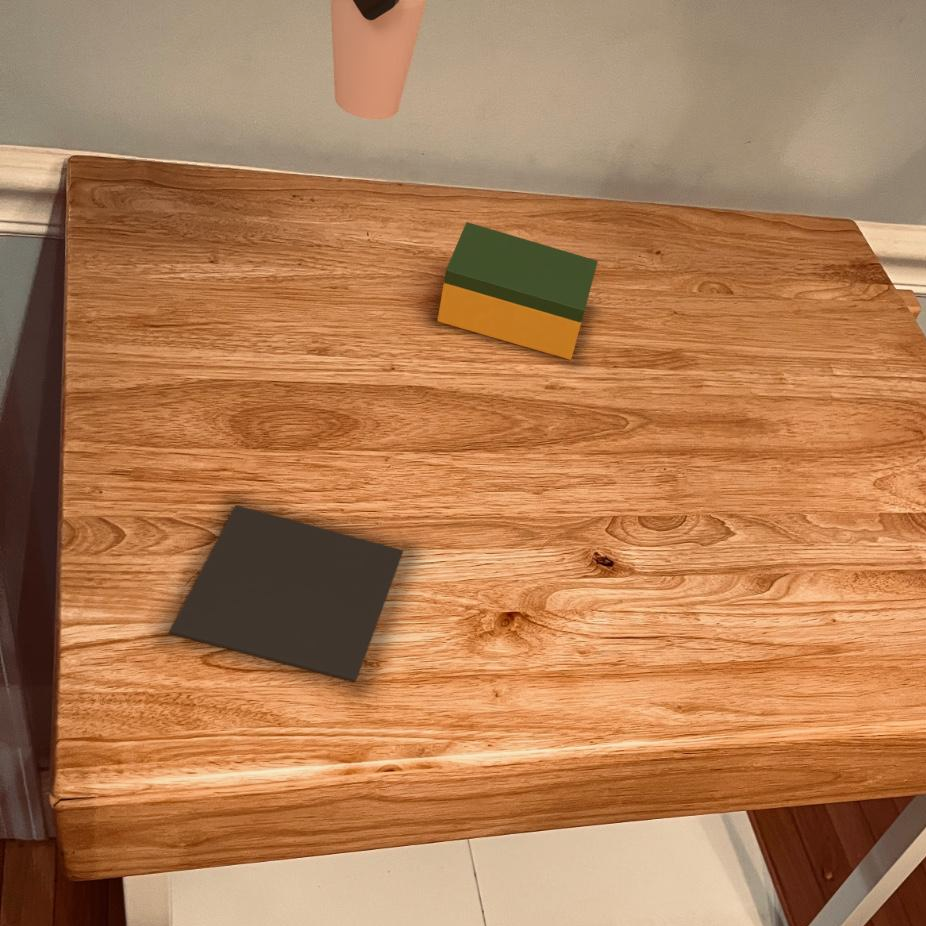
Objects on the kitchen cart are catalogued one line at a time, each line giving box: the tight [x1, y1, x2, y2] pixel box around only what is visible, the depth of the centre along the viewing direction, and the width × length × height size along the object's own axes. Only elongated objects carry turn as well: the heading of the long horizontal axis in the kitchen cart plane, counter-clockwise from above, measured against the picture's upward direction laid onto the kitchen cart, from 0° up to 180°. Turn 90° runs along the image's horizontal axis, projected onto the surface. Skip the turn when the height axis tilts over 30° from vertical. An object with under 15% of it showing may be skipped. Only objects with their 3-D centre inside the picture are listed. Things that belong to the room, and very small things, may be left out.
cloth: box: [169, 504, 404, 683], centre depth 60 cm, size 9×9×1 cm
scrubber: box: [437, 221, 598, 361], centre depth 78 cm, size 9×6×4 cm, turn 83°
